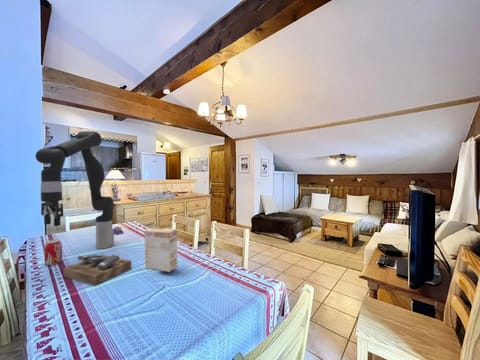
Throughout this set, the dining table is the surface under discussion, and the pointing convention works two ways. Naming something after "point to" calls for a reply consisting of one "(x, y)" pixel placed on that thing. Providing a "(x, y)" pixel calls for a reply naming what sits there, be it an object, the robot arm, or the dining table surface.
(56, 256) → the soda can
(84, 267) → the switch unit
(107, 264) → the rocker
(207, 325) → the dining table surface
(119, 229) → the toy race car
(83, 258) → the rocker
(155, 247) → the coffeecake box
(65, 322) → the dining table surface
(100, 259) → the rocker
